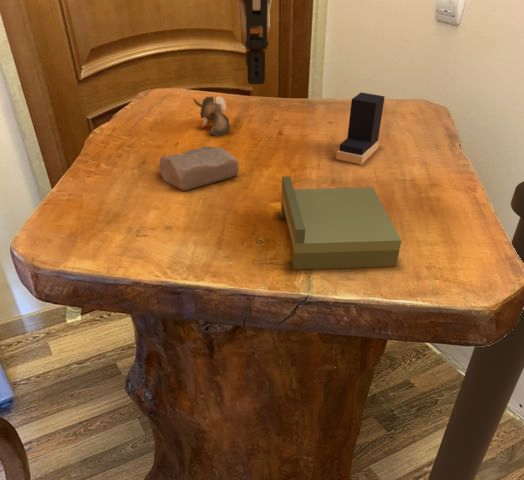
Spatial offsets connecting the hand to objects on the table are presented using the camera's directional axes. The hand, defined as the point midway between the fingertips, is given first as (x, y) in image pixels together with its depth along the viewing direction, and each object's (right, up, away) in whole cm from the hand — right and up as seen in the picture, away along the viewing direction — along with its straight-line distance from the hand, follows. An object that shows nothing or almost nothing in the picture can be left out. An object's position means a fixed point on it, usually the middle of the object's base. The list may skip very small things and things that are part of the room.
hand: (255, 74), depth 74 cm
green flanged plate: (+12, -21, +6) cm, 24 cm away
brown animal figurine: (-9, +9, +40) cm, 42 cm away
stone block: (-10, -7, +22) cm, 25 cm away
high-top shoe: (+19, 0, +30) cm, 36 cm away
